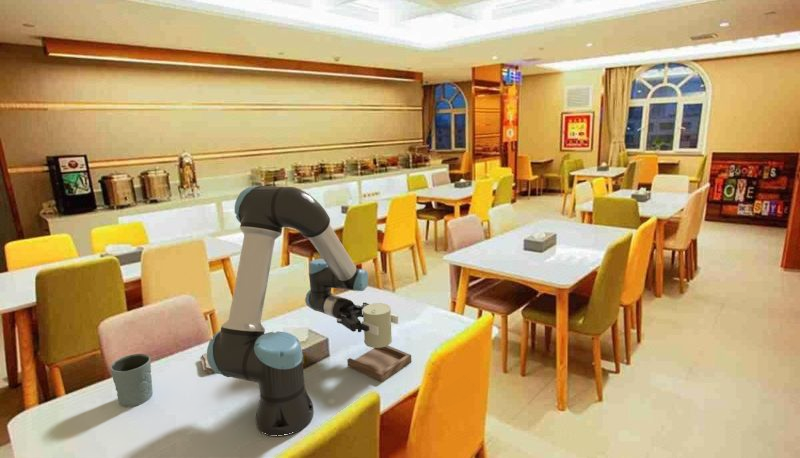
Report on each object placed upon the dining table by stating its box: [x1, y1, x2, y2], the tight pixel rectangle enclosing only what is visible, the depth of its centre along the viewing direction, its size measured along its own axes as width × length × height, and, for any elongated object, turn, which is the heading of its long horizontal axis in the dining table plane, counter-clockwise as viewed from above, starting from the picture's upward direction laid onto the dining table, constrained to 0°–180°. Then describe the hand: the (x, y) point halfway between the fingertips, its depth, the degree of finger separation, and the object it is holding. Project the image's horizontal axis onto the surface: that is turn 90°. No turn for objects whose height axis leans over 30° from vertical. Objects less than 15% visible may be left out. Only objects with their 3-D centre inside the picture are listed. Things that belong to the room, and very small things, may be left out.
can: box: [362, 302, 393, 349], centre depth 141 cm, size 9×9×12 cm
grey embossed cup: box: [109, 353, 154, 408], centre depth 128 cm, size 10×10×12 cm
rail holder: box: [346, 345, 412, 383], centre depth 143 cm, size 15×15×2 cm
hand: (387, 325), depth 138 cm, fingers closed on can, 9 cm apart
